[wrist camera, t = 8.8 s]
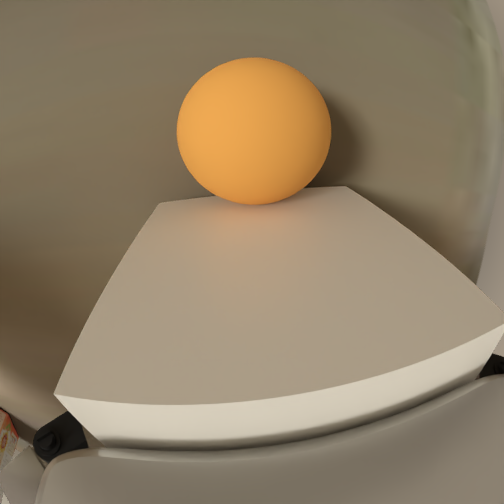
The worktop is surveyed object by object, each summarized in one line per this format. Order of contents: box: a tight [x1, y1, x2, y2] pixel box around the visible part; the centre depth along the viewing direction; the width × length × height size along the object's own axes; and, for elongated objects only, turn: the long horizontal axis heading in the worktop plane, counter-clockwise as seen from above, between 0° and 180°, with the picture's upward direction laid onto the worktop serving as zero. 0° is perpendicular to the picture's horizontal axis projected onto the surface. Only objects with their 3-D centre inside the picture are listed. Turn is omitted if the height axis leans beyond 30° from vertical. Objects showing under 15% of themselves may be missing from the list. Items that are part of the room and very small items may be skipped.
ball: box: [177, 58, 331, 205], centre depth 8 cm, size 5×5×5 cm
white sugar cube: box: [54, 186, 504, 451], centre depth 9 cm, size 8×8×9 cm
